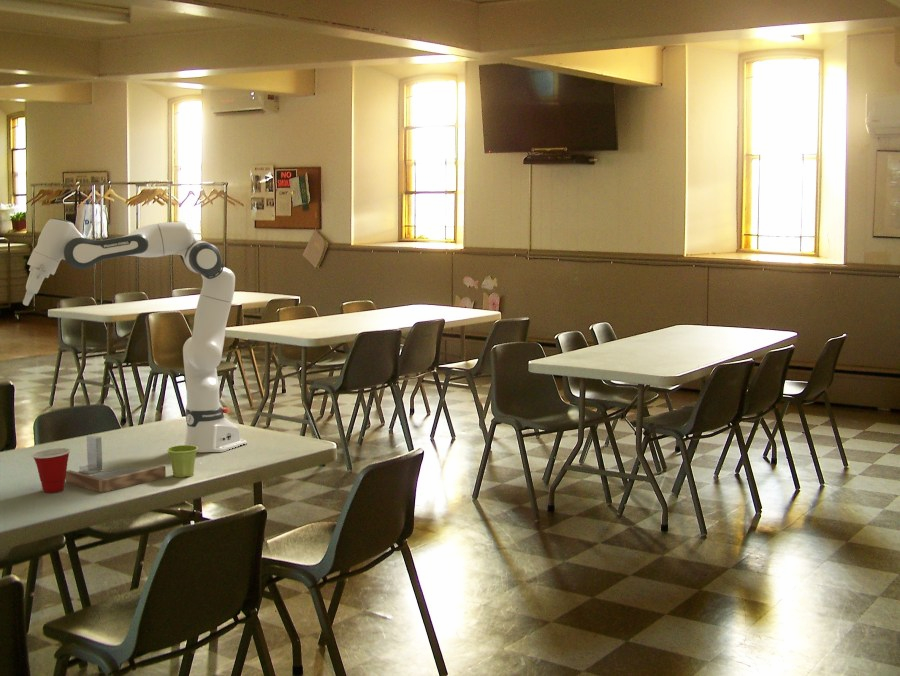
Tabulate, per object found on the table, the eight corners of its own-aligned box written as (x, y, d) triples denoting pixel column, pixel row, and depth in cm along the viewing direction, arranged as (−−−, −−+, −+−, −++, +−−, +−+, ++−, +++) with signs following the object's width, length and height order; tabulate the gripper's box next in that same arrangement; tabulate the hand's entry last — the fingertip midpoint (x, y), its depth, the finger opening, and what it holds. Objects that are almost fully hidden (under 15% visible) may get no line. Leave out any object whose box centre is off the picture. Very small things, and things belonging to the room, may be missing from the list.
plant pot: (190, 480, 333) (190, 452, 332) (162, 478, 335) (161, 451, 334) (203, 472, 342) (202, 445, 341) (176, 471, 344) (175, 444, 343)
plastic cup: (39, 486, 325) (37, 447, 324) (76, 485, 326) (74, 446, 325) (28, 495, 314) (26, 455, 313) (66, 495, 315) (64, 455, 314)
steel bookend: (93, 468, 347) (92, 434, 345) (102, 470, 344) (101, 437, 342) (79, 471, 343) (78, 437, 341) (88, 473, 340) (87, 439, 338)
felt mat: (128, 468, 347) (128, 467, 346) (159, 476, 337) (159, 475, 337) (73, 481, 331) (73, 479, 331) (104, 489, 321) (104, 488, 321)
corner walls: (129, 467, 347) (128, 457, 347) (165, 477, 336) (165, 466, 335) (65, 482, 329) (65, 471, 329) (102, 492, 318) (101, 481, 317)
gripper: (53, 269, 339) (35, 309, 338) (51, 268, 358) (34, 306, 357) (33, 261, 336) (15, 301, 335) (32, 260, 355) (15, 298, 354)
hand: (25, 304), depth 346 cm, fingers open, 8 cm apart
